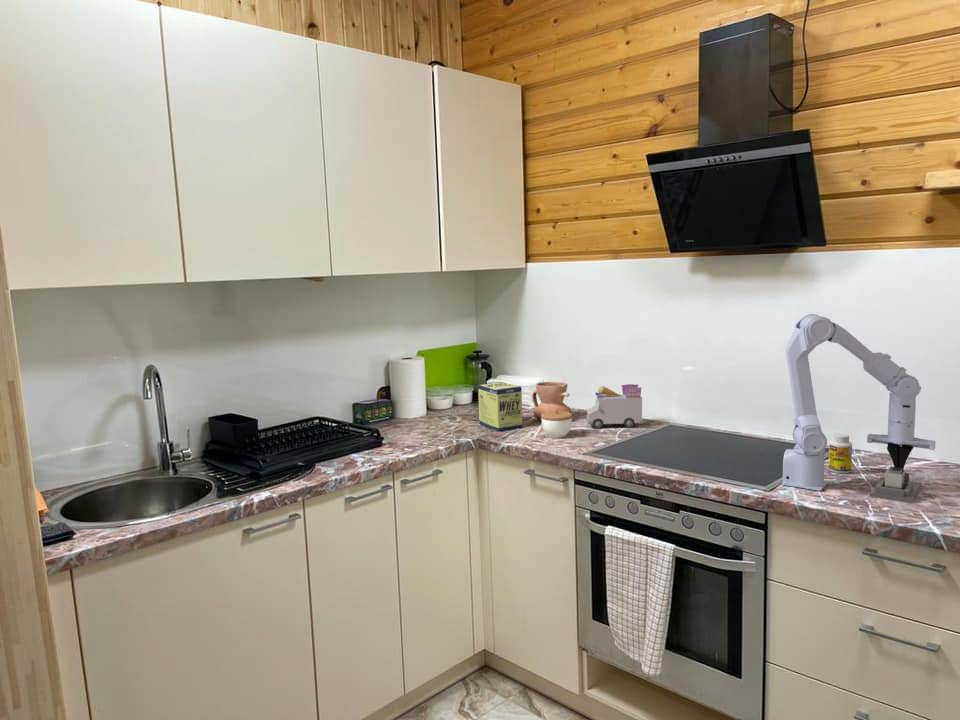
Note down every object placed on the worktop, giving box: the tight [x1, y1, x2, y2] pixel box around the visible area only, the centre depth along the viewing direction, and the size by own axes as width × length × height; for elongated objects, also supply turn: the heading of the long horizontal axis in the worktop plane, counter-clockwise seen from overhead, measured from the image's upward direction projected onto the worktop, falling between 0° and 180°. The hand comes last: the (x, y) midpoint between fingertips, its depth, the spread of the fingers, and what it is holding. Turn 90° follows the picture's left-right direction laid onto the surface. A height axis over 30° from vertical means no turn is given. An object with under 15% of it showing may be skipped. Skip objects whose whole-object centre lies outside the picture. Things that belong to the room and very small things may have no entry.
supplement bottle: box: [828, 433, 853, 474], centre depth 190 cm, size 6×6×10 cm
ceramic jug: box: [531, 381, 572, 421], centre depth 267 cm, size 18×14×14 cm
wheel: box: [904, 472, 910, 482], centre depth 175 cm, size 4×4×2 cm
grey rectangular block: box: [884, 466, 906, 490], centre depth 170 cm, size 4×4×6 cm
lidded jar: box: [540, 409, 573, 439], centre depth 241 cm, size 11×11×9 cm
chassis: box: [869, 476, 923, 504], centre depth 173 cm, size 9×15×2 cm, turn 141°
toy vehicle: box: [585, 383, 644, 430], centre depth 252 cm, size 9×20×15 cm, turn 88°
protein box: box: [477, 381, 523, 433], centre depth 258 cm, size 10×16×16 cm
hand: (899, 473), depth 175 cm, fingers closed, pressing on wheel
